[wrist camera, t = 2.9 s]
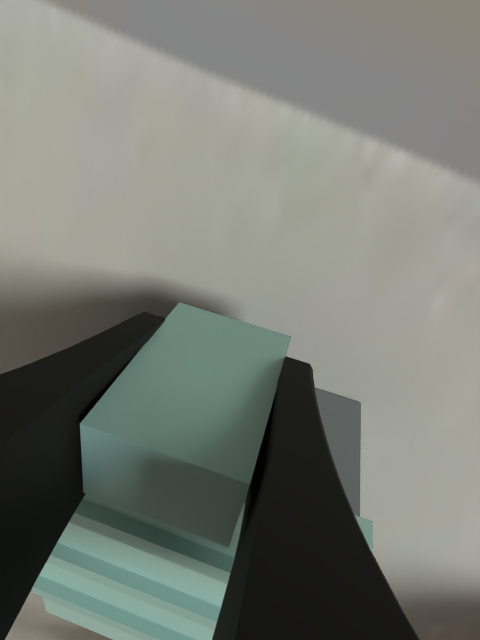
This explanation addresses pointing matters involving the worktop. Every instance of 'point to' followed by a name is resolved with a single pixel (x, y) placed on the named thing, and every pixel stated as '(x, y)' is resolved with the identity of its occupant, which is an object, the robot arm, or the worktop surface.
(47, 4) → the worktop surface
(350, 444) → the tub
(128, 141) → the worktop surface
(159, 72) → the worktop surface
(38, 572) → the robot arm
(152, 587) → the lid
